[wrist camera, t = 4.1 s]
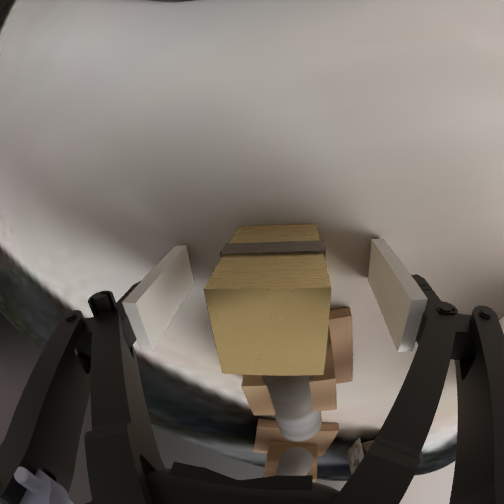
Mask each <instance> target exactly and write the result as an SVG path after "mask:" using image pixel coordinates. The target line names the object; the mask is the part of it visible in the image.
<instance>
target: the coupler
mask: <svg viewBox="0 0 504 504" xmlns="http://www.w3.org/2000/svg"><path fill="white" fill-rule="evenodd" d="M325 254H326V250H325V246H324V243H323V240H320V237H319V234H318V230H317V226H316V224H289V225H263V226H240V227H238V229H237V231H236V233H235V234H234V236H233V238H232V240H231V241H230V243H226V244H225V246H224V248H223V249H222V251H221V253H220V257H221V259H220V261H219V263H218V264H217V266H216V268H215V270H214V271H213V273H212V275H211V277H210V279H209V280H208V282H207V284H206V286H205V288H204V292H205V297H206V302H207V307H208V312H209V317H210V321H211V326H212V331H213V335H214V340H215V344H216V348H217V353H218V357H219V361H220V365H221V369H222V373H228V374H245V375H277V376H298V375H324V367H325V358H326V348H327V338H328V326H329V313H330V298H331V284H330V280H329V275H328V271H327V266H326V262H325Z"/></svg>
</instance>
